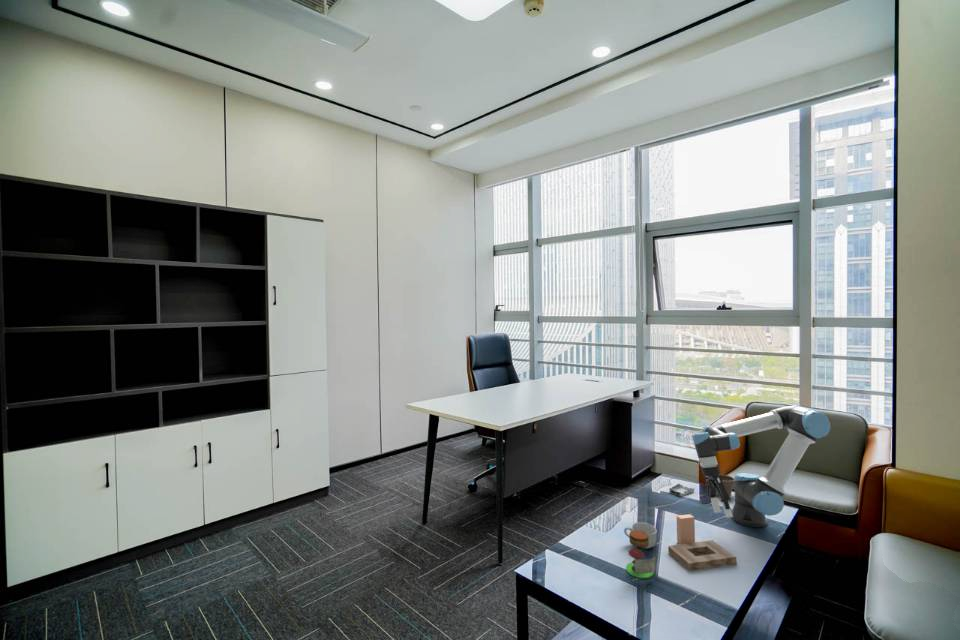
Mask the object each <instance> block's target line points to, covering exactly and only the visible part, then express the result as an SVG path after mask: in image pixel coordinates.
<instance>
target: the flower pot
mask: <svg viewBox="0 0 960 640" xmlns="http://www.w3.org/2000/svg"><path fill="white" fill-rule="evenodd" d="M717 477H718V478H721V480H722V483H723V485H724V487H725V489H726V491H727V493H728V496H729V498H730V497H731V495H732V493H733V487H734V477H733V476H730V475H726V474H719V475H717ZM716 494H717V496H719V494H718V492H717V491H716Z"/></svg>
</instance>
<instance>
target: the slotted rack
mask: <svg viewBox="0 0 960 640" xmlns="http://www.w3.org/2000/svg"><path fill="white" fill-rule="evenodd" d="M668 552H669V553H670V554H669V555H670V556H671V557H673V558H674V559H675V560H676V561H677V560H678V561H677V562H678V563H680V564H681V565H682V566H683V567H684V568H686V569H687V570H688V571H689V572H690V571H698V570H704V569H705V570H706V569H711V568H718V567H724V566H725V567H726V566H732V565H737V564H738V563H737V556H736V555H735V554H733V553H732V552H730V551H729V550H727V549H726V548H724V547H723V546H722V545H720V544H719V543H718V542H716V541H714V539H713V540H712V539H710V540H705V541H704V540H703V541H695V543H687V544H679V543H678V544H674V545H668ZM696 555H697V556H696Z"/></svg>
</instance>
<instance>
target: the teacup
mask: <svg viewBox="0 0 960 640" xmlns="http://www.w3.org/2000/svg"><path fill="white" fill-rule="evenodd" d="M627 530H628V531H630V532H631V531H635V530H638V531H643V532H645V533H647V534H648V539H649V545H648V546H647V547H640V548H641V549H647V550H648V549H651V548H653V547H655V545H656V544H657V532H658V530H657V528H656V527H655V526H654V525H652V524H650V523H647V522H635V523H633V524H631V526H626V527H624V529H623V532H624V534H625V536H626V537H627V538H629V539H630V536H629V534H630V533H628V532H627Z"/></svg>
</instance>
